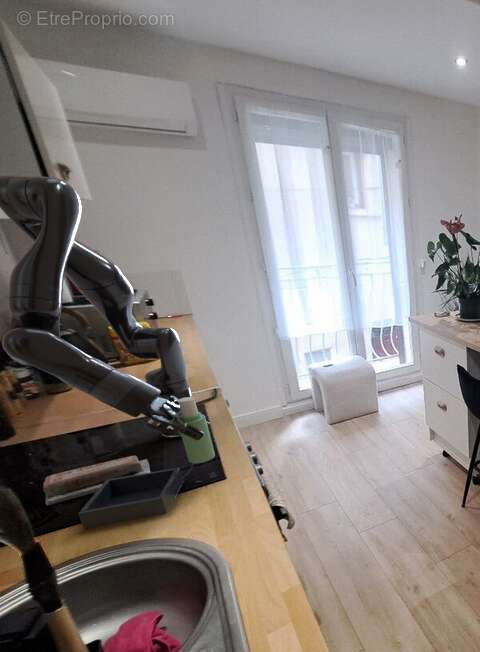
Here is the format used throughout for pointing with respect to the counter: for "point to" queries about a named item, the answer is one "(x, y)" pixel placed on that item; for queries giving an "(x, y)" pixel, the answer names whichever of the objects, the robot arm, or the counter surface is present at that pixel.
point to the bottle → (198, 448)
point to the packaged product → (90, 478)
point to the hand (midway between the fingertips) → (204, 431)
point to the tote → (132, 498)
